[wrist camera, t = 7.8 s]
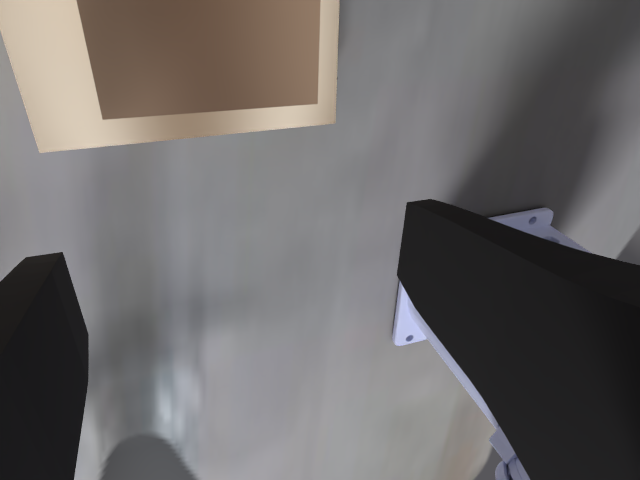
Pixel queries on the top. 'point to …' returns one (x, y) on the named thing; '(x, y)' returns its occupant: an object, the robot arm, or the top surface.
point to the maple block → (81, 97)
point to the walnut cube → (201, 54)
